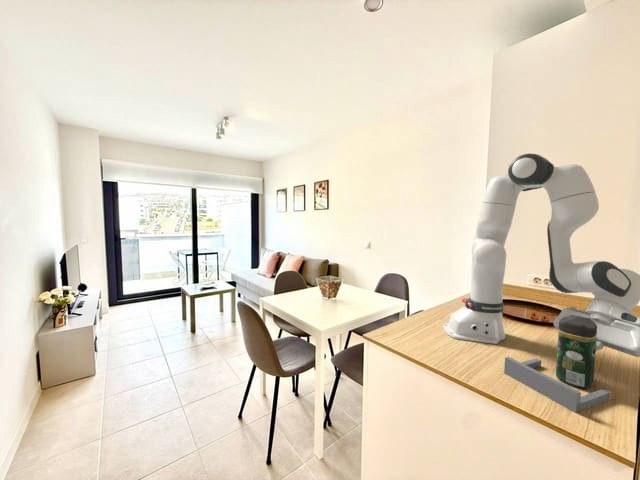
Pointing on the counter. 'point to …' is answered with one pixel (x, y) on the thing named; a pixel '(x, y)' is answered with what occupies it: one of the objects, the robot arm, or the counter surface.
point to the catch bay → (552, 385)
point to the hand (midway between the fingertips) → (584, 352)
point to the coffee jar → (576, 351)
